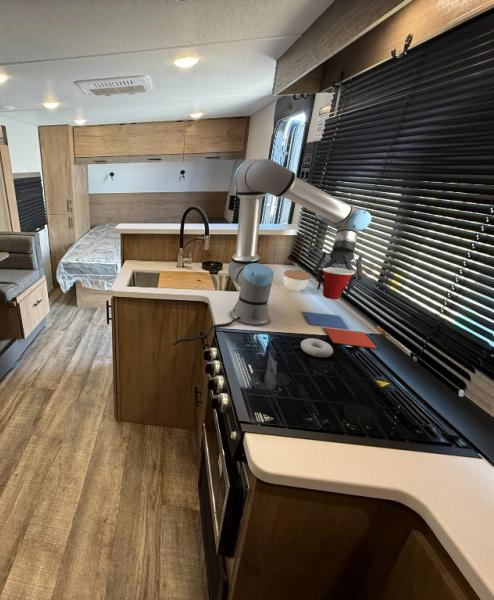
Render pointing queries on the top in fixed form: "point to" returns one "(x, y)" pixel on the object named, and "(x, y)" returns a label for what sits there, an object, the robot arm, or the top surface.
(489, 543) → the top surface
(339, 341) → the red mat
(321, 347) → the donut
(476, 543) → the top surface
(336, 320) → the blue mat
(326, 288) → the plastic cup
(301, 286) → the white bowl with cork
